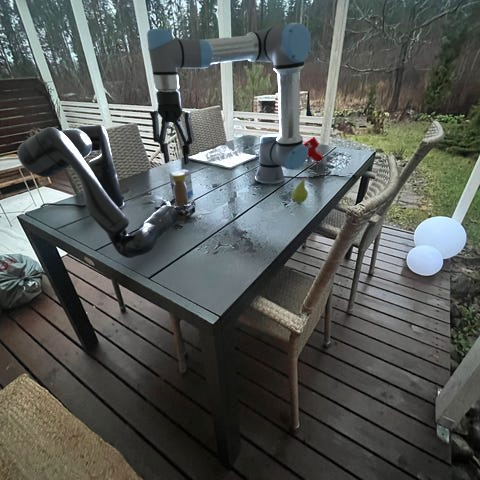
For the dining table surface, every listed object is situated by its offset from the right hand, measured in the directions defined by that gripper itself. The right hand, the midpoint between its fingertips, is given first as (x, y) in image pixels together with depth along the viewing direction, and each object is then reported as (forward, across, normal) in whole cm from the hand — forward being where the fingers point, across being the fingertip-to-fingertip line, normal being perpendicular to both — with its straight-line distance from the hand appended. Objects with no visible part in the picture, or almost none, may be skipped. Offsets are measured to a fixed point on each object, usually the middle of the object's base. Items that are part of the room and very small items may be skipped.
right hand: (177, 162), depth 98 cm
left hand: (+16, 0, -2) cm, 16 cm away
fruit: (+22, -46, -22) cm, 56 cm away
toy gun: (+22, -50, -84) cm, 100 cm away
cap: (+4, 0, 0) cm, 4 cm away
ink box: (+22, +8, -19) cm, 30 cm away
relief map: (+22, +4, -82) cm, 85 cm away
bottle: (+22, 0, 0) cm, 22 cm away
